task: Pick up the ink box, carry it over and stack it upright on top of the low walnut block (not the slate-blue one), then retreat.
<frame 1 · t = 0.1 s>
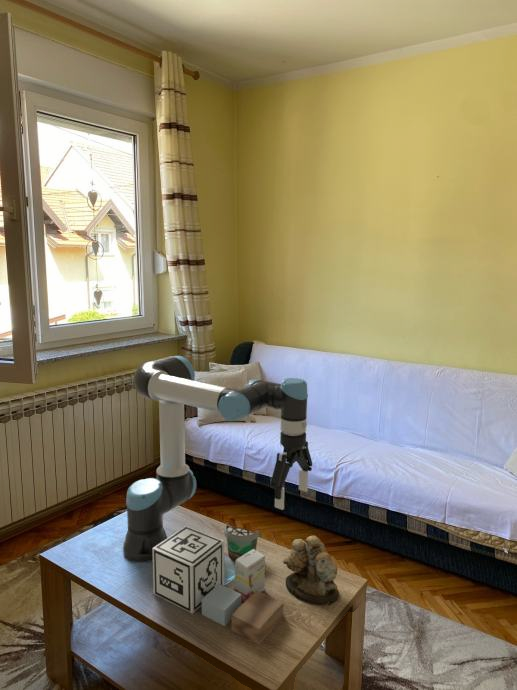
hand: (291, 498, 150), 28 cm above the table, fingers open, 13 cm apart
walnut block: (257, 624, 138), on the table
food container: (238, 558, 167), on the table
ink box: (249, 593, 150), on the table
slate block: (221, 612, 142), on the table
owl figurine: (310, 590, 152), on the table
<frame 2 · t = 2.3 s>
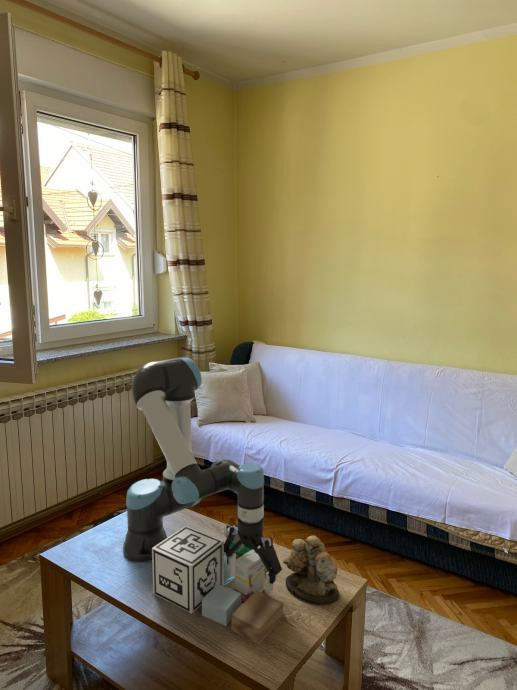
hand: (250, 583, 149), 3 cm above the table, fingers open, 13 cm apart
nothing on the table moved.
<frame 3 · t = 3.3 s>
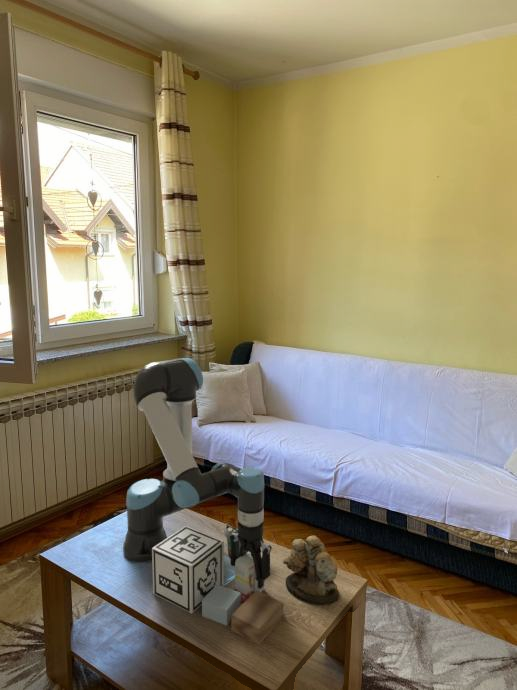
hand: (249, 592, 150), 0 cm above the table, fingers closed on ink box, 5 cm apart
ink box: (249, 593, 150), on the table, touching gripper
everything else where it was.
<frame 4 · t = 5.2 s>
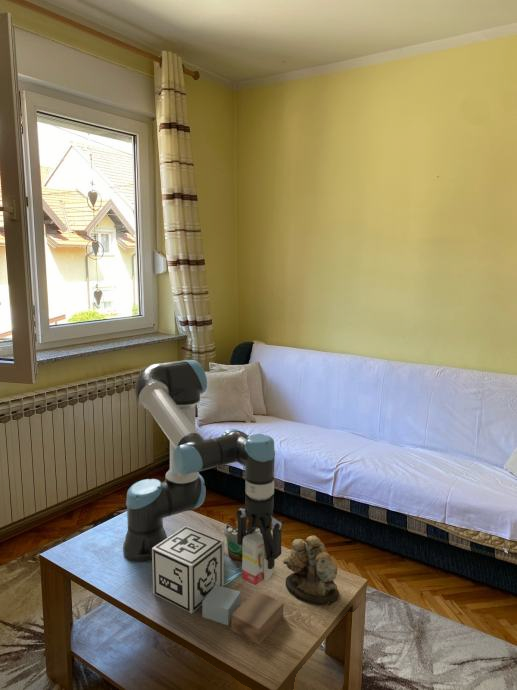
hand: (258, 573, 136), 15 cm above the table, fingers closed on ink box, 5 cm apart
ink box: (258, 575, 136), point 15 cm above the table, touching gripper
everything else where it was.
when the fingers open (7 cm above the table, at t = 7.0 s): ink box drops 2 cm, resting on walnut block.
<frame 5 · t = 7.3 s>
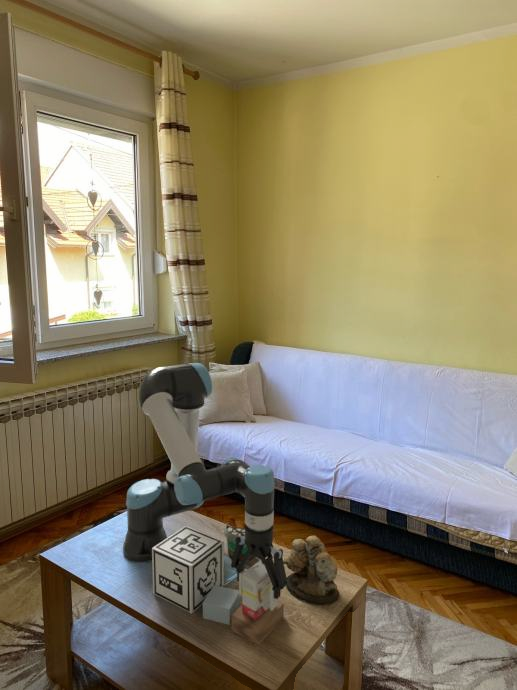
hand: (258, 599, 137), 7 cm above the table, fingers open, 9 cm apart
walnut block: (257, 625, 138), on the table, touching ink box
ink box: (258, 608, 137), point 4 cm above the table, touching walnut block
everything else where it was.
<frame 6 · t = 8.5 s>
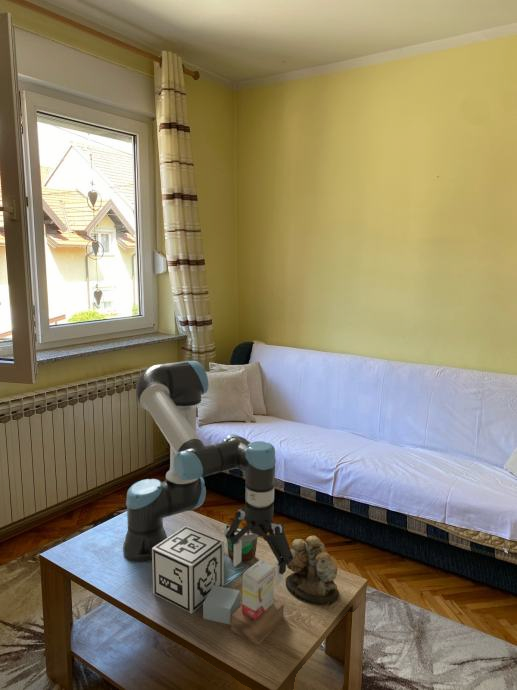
hand: (257, 573, 136), 15 cm above the table, fingers open, 13 cm apart
nothing on the table moved.
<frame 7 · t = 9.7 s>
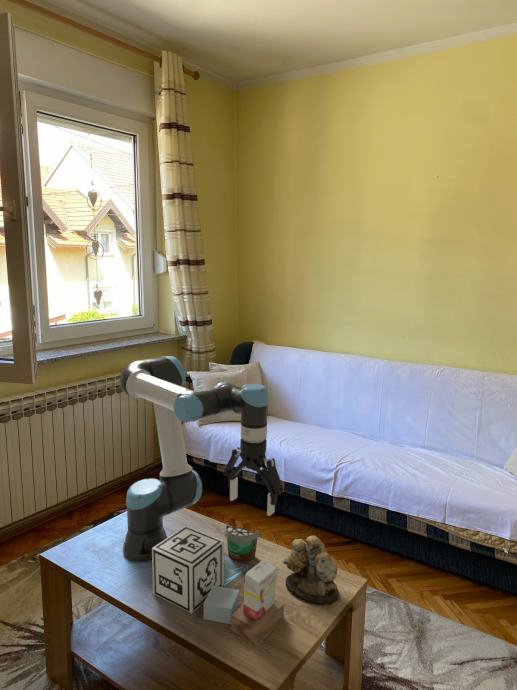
hand: (251, 506, 148), 27 cm above the table, fingers open, 13 cm apart
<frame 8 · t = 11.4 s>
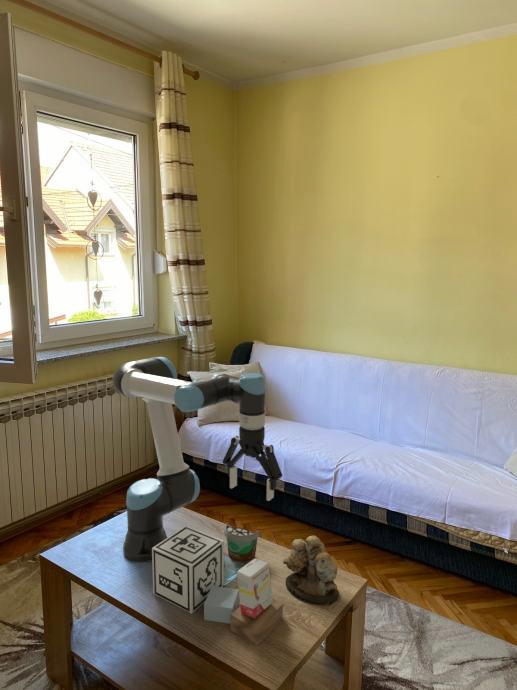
hand: (251, 492, 152), 29 cm above the table, fingers open, 13 cm apart
walnut block: (256, 625, 138), on the table
ink box: (257, 608, 137), point 5 cm above the table
at the end: ink box inside the target area on the walnut block (0.1 cm from its centre), point 5.2 cm above the walnut block's base; ink box tilted 9°; the gripper is holding nothing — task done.
